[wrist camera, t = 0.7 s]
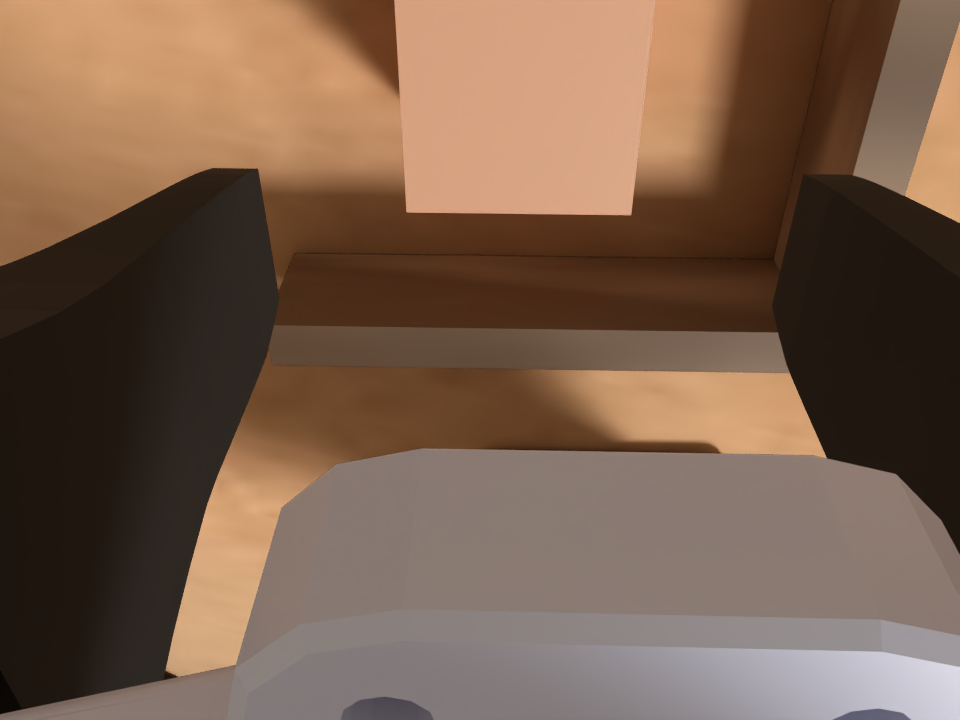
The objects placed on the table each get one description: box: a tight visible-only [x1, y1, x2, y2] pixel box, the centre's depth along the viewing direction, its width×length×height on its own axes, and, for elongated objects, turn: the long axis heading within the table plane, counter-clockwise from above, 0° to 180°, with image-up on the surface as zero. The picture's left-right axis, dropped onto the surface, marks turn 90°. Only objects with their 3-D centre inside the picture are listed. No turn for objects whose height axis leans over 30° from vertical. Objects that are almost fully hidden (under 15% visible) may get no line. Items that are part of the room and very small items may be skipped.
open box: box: [269, 0, 960, 373], centre depth 18 cm, size 14×14×4 cm
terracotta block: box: [394, 0, 656, 215], centre depth 18 cm, size 4×4×5 cm
